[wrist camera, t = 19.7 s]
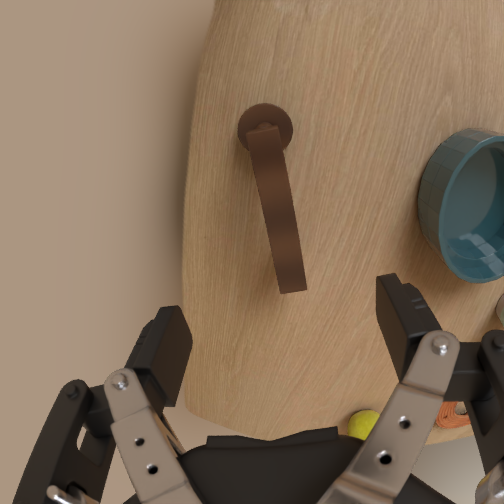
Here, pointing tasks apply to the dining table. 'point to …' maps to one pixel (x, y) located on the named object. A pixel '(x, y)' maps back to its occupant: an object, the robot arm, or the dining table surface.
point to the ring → (451, 416)
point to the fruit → (362, 423)
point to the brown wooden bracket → (275, 189)
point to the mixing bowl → (466, 204)
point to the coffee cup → (500, 309)
